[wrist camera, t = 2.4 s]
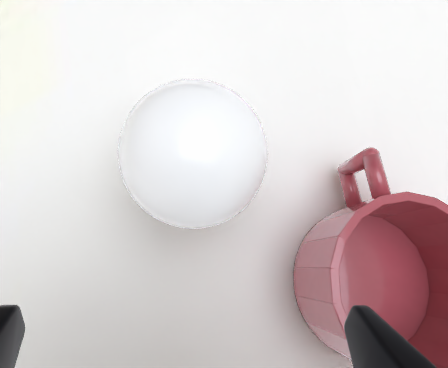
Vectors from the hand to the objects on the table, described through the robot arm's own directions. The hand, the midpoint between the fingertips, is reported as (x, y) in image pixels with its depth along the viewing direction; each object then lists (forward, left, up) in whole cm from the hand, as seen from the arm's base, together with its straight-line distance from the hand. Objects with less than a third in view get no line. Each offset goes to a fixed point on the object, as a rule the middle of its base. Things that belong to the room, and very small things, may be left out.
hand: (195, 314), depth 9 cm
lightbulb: (+5, +3, -12) cm, 14 cm away
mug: (+7, -9, -12) cm, 17 cm away
